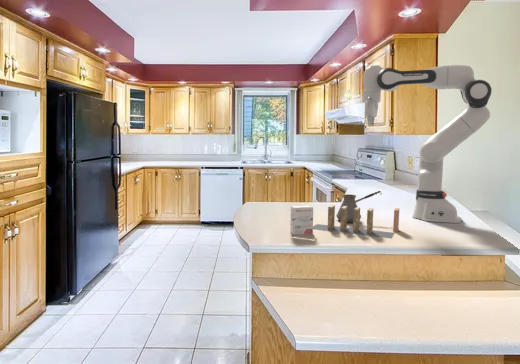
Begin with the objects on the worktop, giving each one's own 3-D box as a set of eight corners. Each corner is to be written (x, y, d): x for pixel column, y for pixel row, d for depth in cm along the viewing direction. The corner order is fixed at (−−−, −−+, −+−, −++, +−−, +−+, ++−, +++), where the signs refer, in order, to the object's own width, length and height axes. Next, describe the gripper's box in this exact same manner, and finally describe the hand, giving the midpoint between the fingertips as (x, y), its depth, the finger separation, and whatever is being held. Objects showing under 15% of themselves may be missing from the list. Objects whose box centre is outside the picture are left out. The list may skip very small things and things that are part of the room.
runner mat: (394, 234, 162) (394, 232, 162) (391, 239, 154) (391, 238, 153) (316, 225, 177) (316, 224, 177) (309, 230, 168) (309, 228, 168)
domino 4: (372, 231, 164) (373, 208, 163) (370, 234, 159) (371, 210, 158) (368, 231, 165) (369, 208, 163) (366, 233, 160) (367, 210, 159)
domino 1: (334, 227, 171) (334, 205, 170) (331, 229, 167) (331, 206, 165) (330, 226, 172) (331, 204, 170) (327, 229, 167) (328, 206, 166)
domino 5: (398, 231, 168) (399, 208, 167) (397, 233, 164) (398, 210, 162) (394, 230, 169) (395, 208, 167) (393, 233, 164) (394, 210, 163)
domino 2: (346, 228, 169) (347, 206, 167) (343, 231, 164) (344, 208, 163) (342, 228, 169) (343, 205, 168) (340, 230, 165) (340, 207, 164)
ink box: (309, 232, 165) (310, 204, 163) (313, 235, 160) (313, 207, 158) (289, 233, 163) (290, 205, 162) (293, 236, 158) (293, 207, 157)
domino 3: (359, 230, 166) (360, 207, 165) (356, 232, 162) (357, 209, 161) (355, 229, 167) (356, 207, 166) (353, 232, 163) (353, 209, 161)
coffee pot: (340, 224, 179) (341, 192, 177) (333, 219, 190) (334, 189, 188) (384, 224, 180) (386, 192, 178) (375, 219, 192) (377, 189, 190)
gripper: (375, 96, 189) (374, 124, 190) (380, 99, 207) (379, 125, 209) (362, 96, 191) (361, 124, 193) (367, 100, 210) (367, 125, 211)
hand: (370, 125), depth 201 cm, fingers open, 8 cm apart
